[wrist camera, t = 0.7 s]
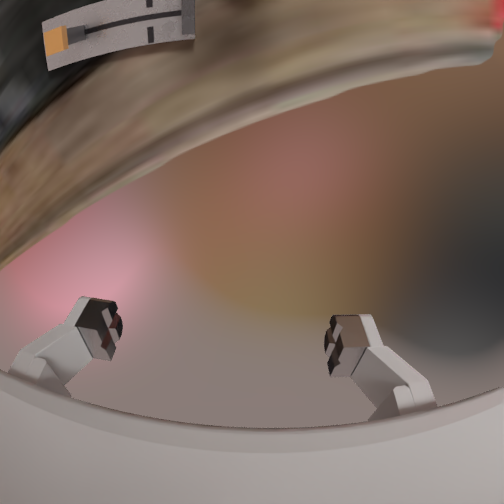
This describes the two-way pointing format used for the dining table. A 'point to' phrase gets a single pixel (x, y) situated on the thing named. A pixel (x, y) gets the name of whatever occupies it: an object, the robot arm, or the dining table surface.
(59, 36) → the fader tab
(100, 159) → the dining table surface
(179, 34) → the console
